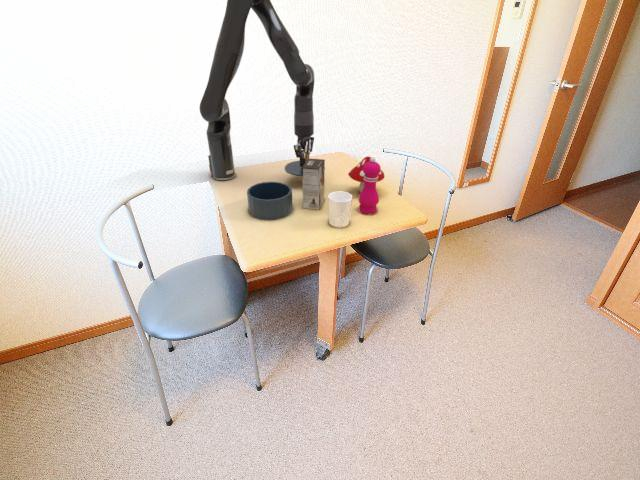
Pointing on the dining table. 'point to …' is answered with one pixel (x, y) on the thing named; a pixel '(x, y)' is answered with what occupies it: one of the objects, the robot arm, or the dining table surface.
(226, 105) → the robot arm
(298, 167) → the pot lid
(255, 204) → the pot
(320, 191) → the coffee box
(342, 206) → the white cup
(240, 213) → the dining table surface
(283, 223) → the dining table surface
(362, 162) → the decorative mushroom
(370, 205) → the pepper mill
